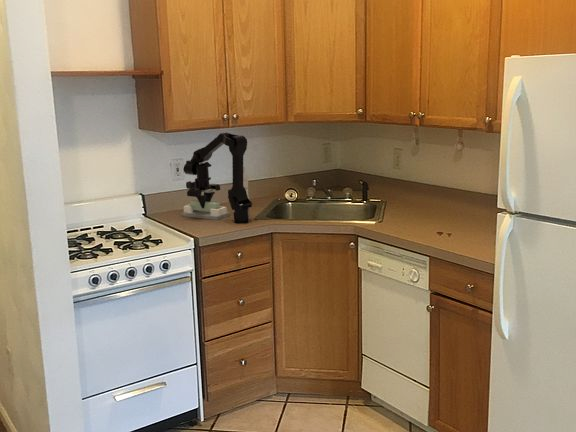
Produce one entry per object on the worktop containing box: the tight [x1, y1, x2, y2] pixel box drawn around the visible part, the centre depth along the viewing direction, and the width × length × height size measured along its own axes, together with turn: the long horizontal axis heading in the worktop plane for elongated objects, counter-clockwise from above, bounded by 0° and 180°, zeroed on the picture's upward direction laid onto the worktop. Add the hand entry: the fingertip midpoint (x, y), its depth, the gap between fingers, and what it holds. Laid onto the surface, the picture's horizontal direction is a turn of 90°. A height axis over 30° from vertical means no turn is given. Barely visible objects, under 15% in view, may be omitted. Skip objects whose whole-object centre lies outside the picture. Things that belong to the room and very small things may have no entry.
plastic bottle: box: [241, 166, 251, 205], centre depth 335 cm, size 6×7×20 cm
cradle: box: [180, 203, 231, 221], centre depth 320 cm, size 22×10×4 cm, turn 58°
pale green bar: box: [189, 200, 221, 212], centre depth 320 cm, size 16×3×4 cm, turn 58°
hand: (205, 207), depth 320 cm, fingers closed on pale green bar, 3 cm apart
